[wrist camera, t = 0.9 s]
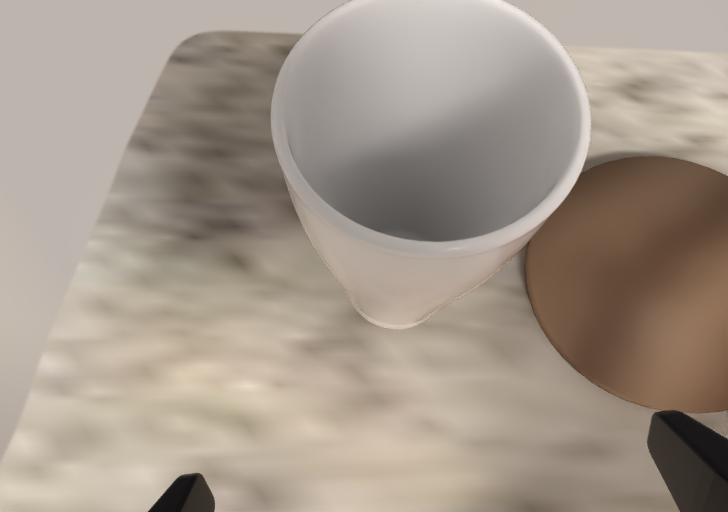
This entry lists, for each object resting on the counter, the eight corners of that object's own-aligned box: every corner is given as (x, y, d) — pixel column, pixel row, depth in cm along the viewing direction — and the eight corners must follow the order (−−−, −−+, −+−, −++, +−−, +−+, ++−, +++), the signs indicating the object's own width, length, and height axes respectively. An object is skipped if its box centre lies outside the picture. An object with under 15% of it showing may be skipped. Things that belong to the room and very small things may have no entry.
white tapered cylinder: (416, 203, 24) (477, -64, 10) (482, 305, 22) (673, 156, 8) (311, 258, 23) (213, 52, 9) (370, 369, 22) (363, 327, 7)
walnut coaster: (842, 250, 21) (862, 243, 20) (726, 474, 19) (743, 478, 18) (601, 127, 25) (608, 116, 24) (477, 304, 22) (480, 300, 21)
